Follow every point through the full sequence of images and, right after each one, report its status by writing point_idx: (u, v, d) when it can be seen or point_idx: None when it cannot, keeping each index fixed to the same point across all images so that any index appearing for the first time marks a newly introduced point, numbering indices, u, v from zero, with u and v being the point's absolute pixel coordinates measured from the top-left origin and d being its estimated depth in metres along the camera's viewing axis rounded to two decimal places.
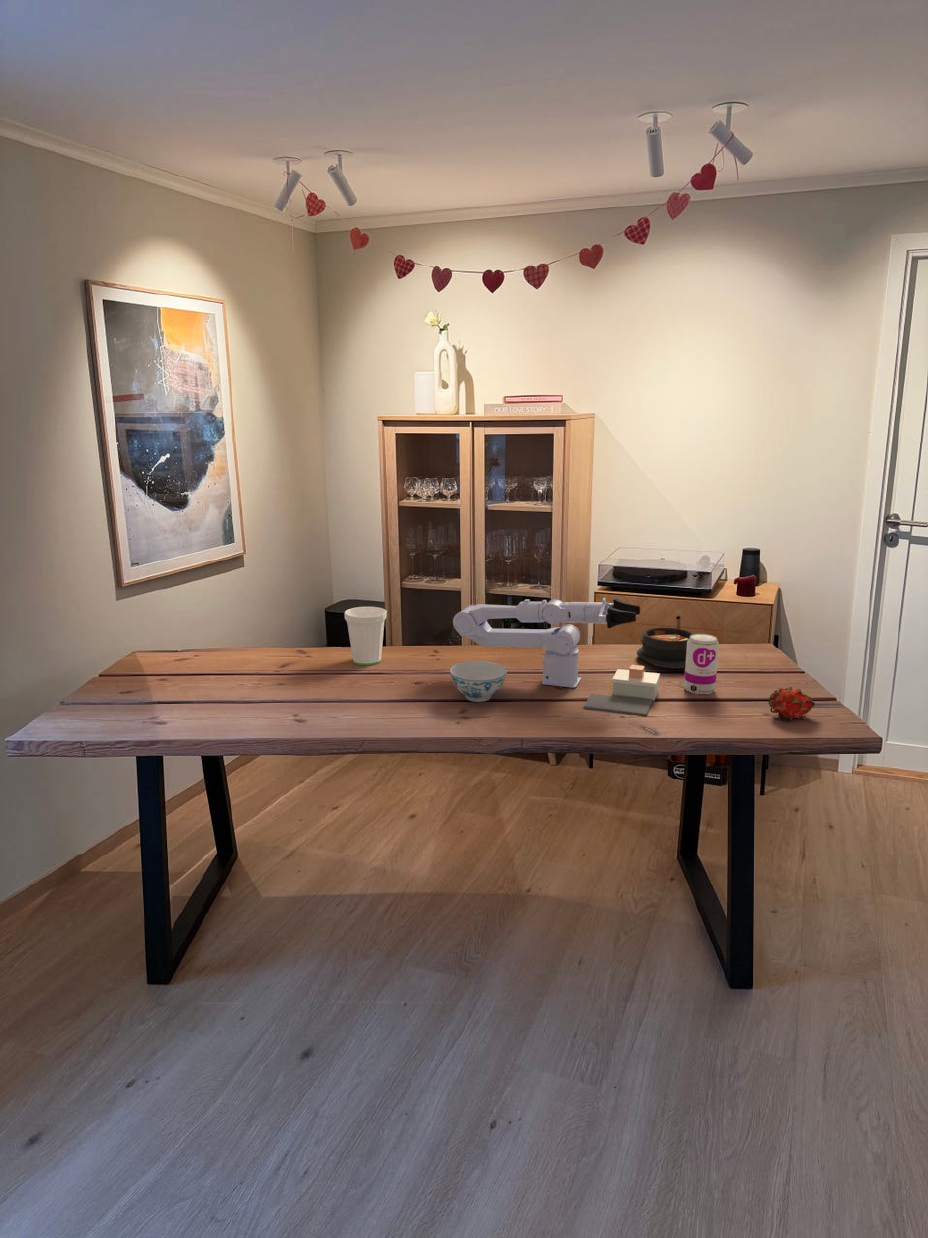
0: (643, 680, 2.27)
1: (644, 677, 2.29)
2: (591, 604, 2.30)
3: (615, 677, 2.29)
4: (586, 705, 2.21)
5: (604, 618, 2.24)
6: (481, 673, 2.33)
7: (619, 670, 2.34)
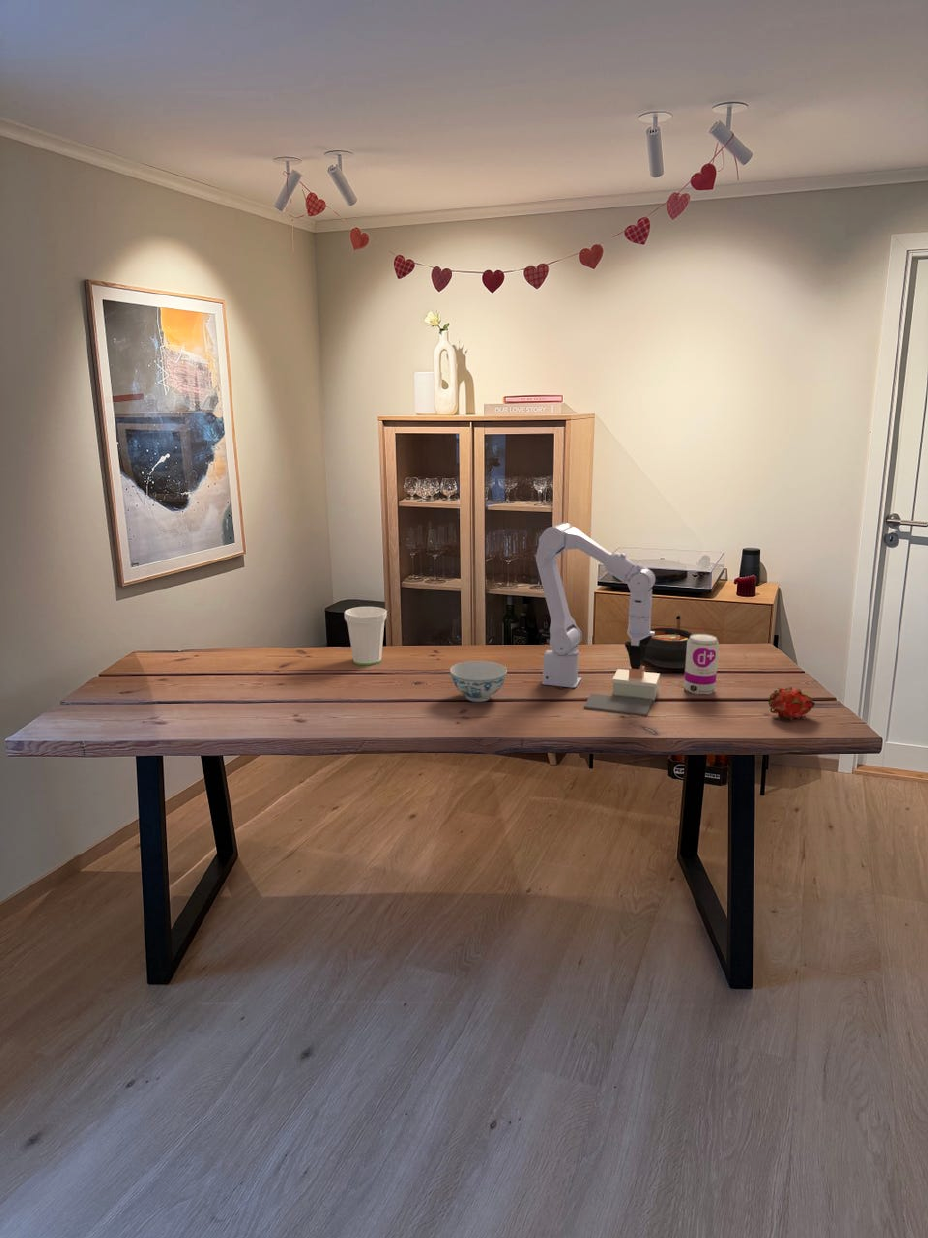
0: (643, 680, 2.27)
1: (644, 677, 2.29)
2: (649, 622, 2.24)
3: (615, 677, 2.29)
4: (586, 705, 2.21)
5: (636, 644, 2.20)
6: (481, 673, 2.33)
7: (619, 670, 2.34)
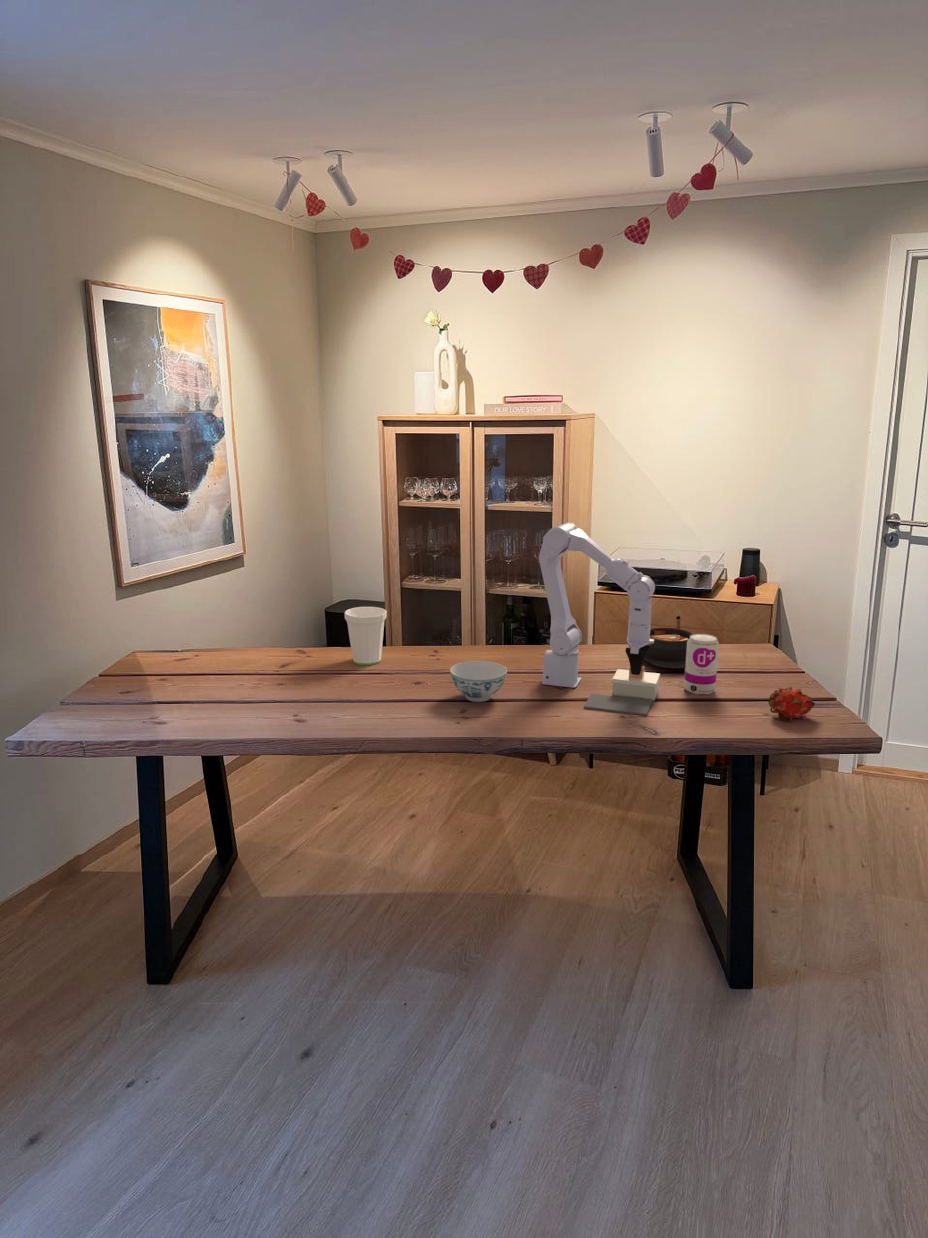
0: (643, 680, 2.27)
1: (644, 677, 2.29)
2: (648, 630, 2.24)
3: (615, 677, 2.29)
4: (586, 705, 2.21)
5: (635, 652, 2.21)
6: (481, 673, 2.33)
7: (619, 670, 2.34)
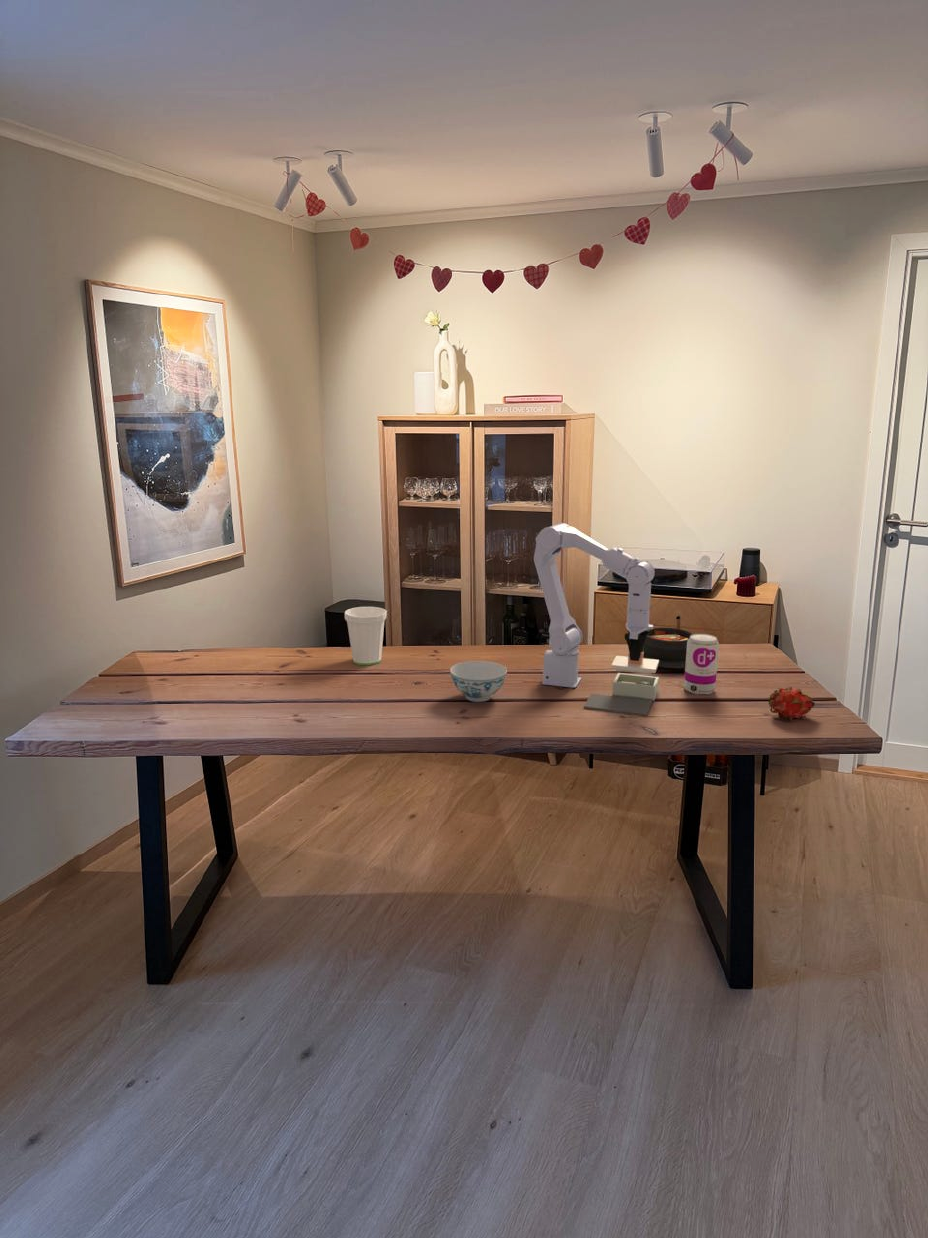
0: (642, 666, 2.25)
1: (643, 663, 2.27)
2: (647, 615, 2.22)
3: (614, 663, 2.27)
4: (586, 705, 2.21)
5: (634, 638, 2.19)
6: (481, 673, 2.33)
7: (618, 657, 2.32)
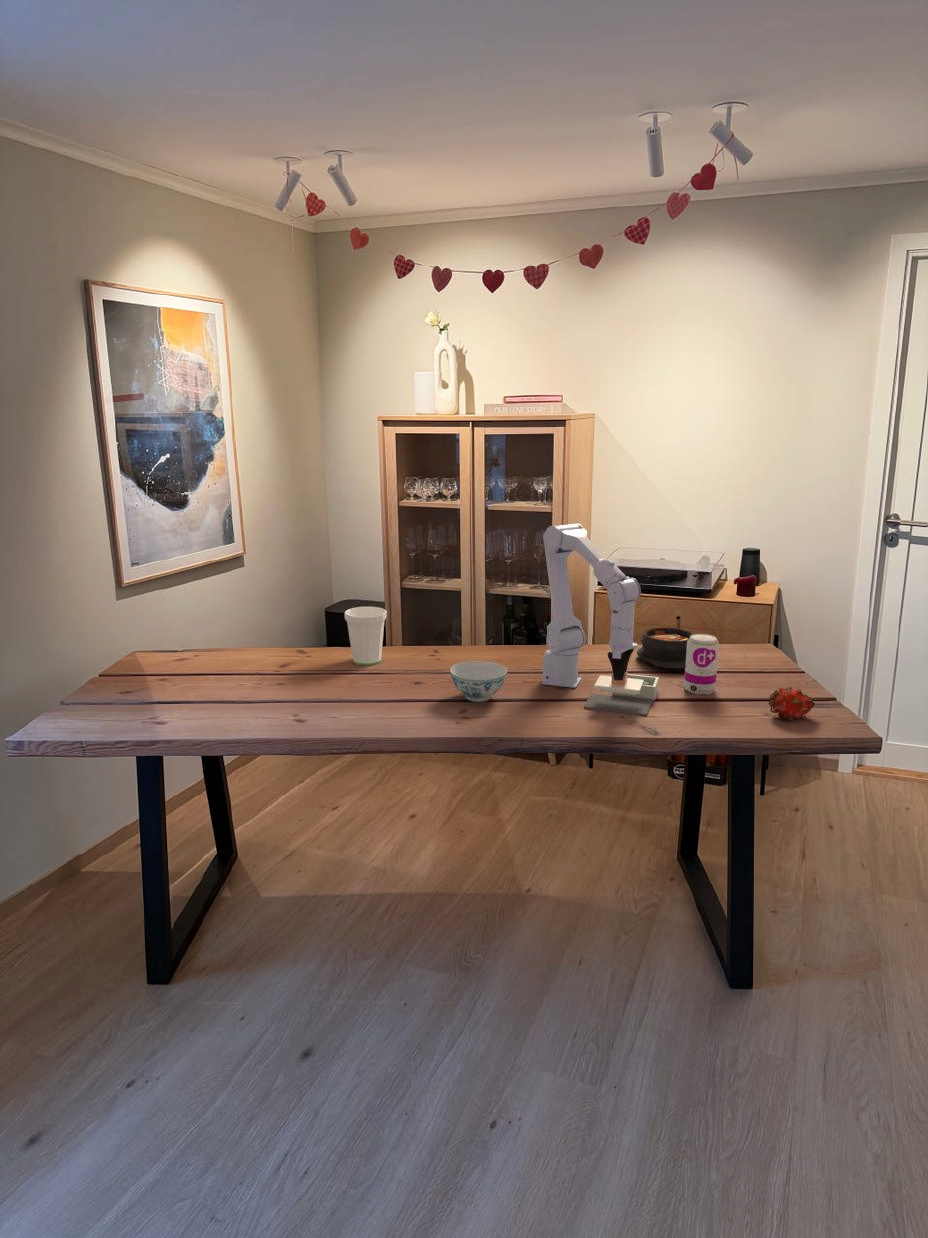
0: (626, 686, 2.18)
1: (627, 683, 2.20)
2: (631, 634, 2.16)
3: (597, 683, 2.21)
4: (586, 705, 2.21)
5: (617, 657, 2.12)
6: (481, 673, 2.33)
7: (601, 676, 2.26)
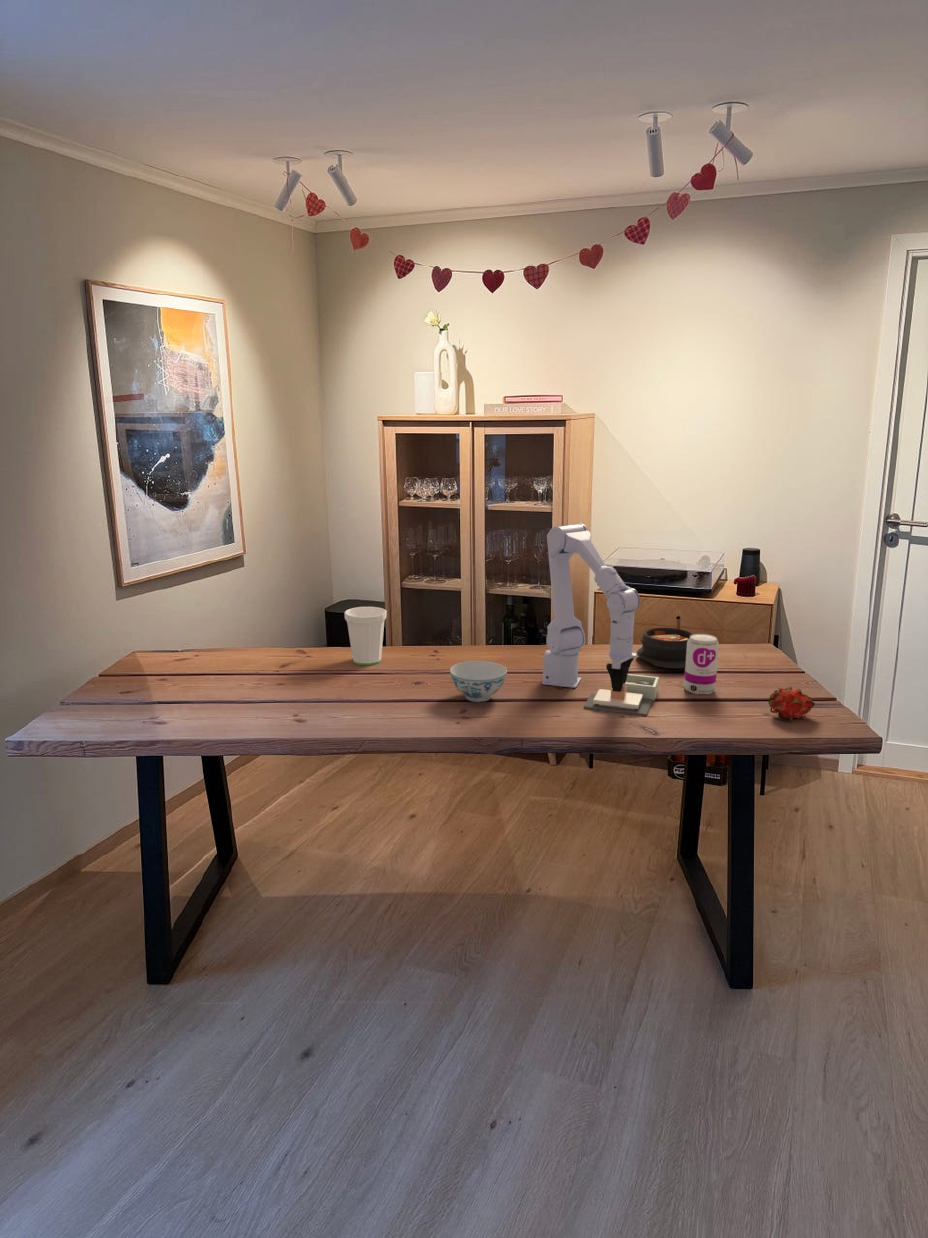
0: (625, 701, 2.19)
1: (626, 698, 2.21)
2: (630, 644, 2.17)
3: (596, 697, 2.22)
4: (586, 705, 2.21)
5: (617, 667, 2.13)
6: (481, 673, 2.33)
7: (601, 691, 2.27)
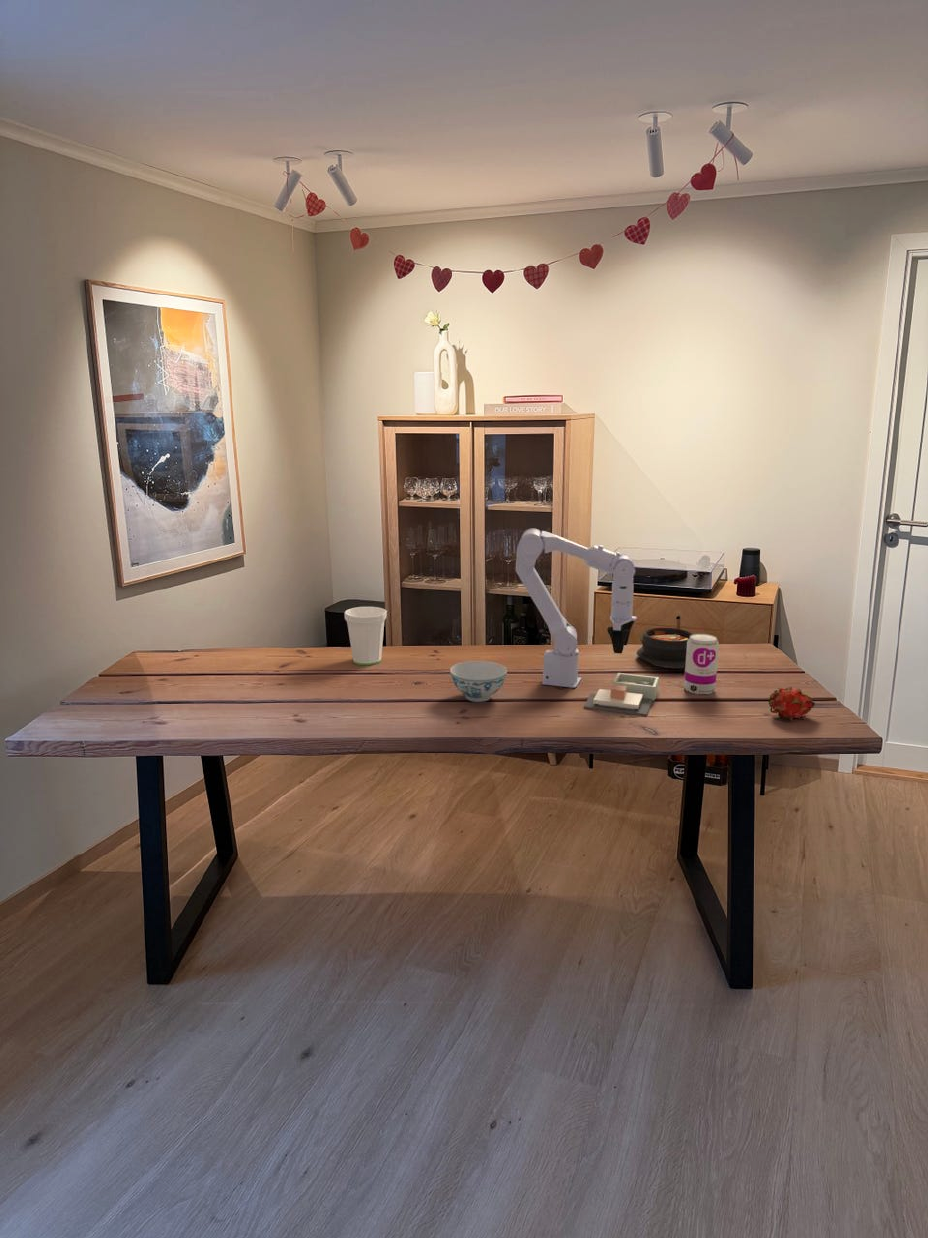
0: (625, 701, 2.19)
1: (626, 698, 2.21)
2: (630, 607, 2.30)
3: (596, 697, 2.22)
4: (586, 705, 2.21)
5: (618, 629, 2.27)
6: (481, 673, 2.33)
7: (601, 691, 2.27)
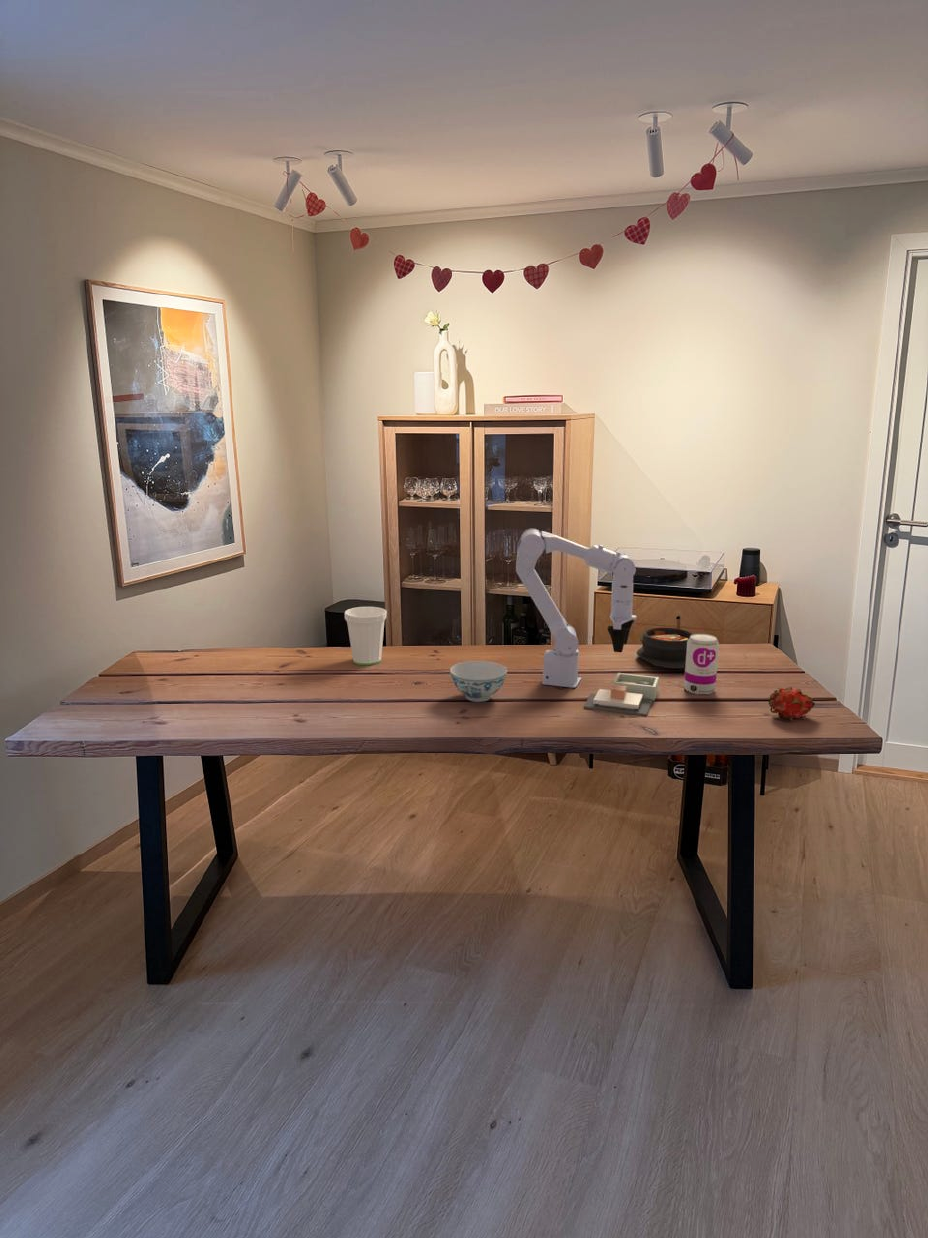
0: (625, 701, 2.19)
1: (626, 698, 2.21)
2: (630, 606, 2.31)
3: (596, 697, 2.22)
4: (586, 705, 2.21)
5: (618, 628, 2.28)
6: (481, 673, 2.33)
7: (601, 691, 2.27)
